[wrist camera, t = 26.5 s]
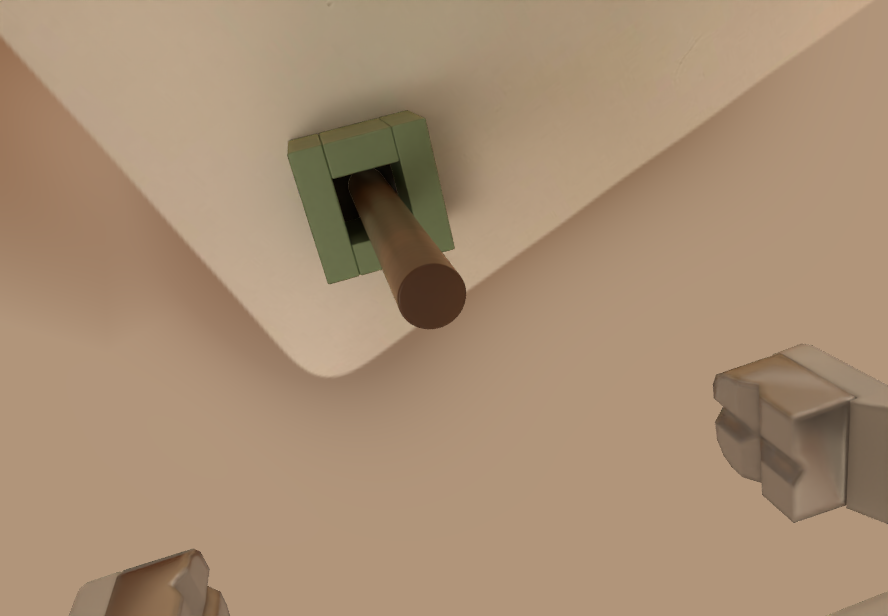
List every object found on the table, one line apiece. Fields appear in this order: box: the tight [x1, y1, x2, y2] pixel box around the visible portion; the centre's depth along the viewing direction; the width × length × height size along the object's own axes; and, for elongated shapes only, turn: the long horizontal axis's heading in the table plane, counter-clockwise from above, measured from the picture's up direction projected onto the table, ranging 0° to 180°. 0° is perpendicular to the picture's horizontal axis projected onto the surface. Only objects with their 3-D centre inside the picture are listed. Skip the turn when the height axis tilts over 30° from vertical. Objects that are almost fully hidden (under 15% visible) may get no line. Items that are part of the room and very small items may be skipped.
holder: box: [287, 110, 455, 284], centre depth 33 cm, size 6×6×5 cm
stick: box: [348, 168, 466, 329], centre depth 27 cm, size 2×2×18 cm
